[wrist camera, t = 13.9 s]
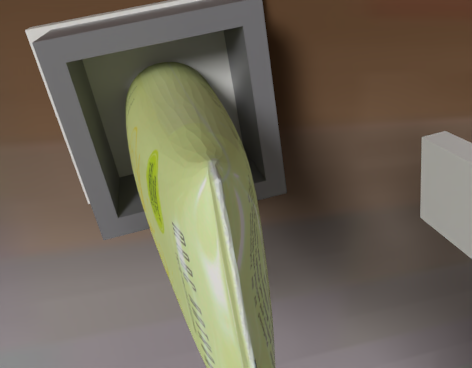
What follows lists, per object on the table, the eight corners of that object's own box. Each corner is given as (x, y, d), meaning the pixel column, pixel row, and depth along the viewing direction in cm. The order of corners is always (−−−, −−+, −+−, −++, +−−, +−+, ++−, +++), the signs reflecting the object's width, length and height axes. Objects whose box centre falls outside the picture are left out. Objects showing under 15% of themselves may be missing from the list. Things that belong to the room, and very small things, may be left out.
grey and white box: (250, -16, 25) (287, -14, 19) (273, 148, 29) (308, 190, 23) (30, 27, 23) (-1, 43, 17) (90, 193, 28) (80, 249, 22)
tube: (96, 108, 24) (17, 427, 7) (150, 31, 23) (221, 177, 6) (179, 163, 27) (278, 505, 9) (232, 95, 26) (455, 336, 8)
